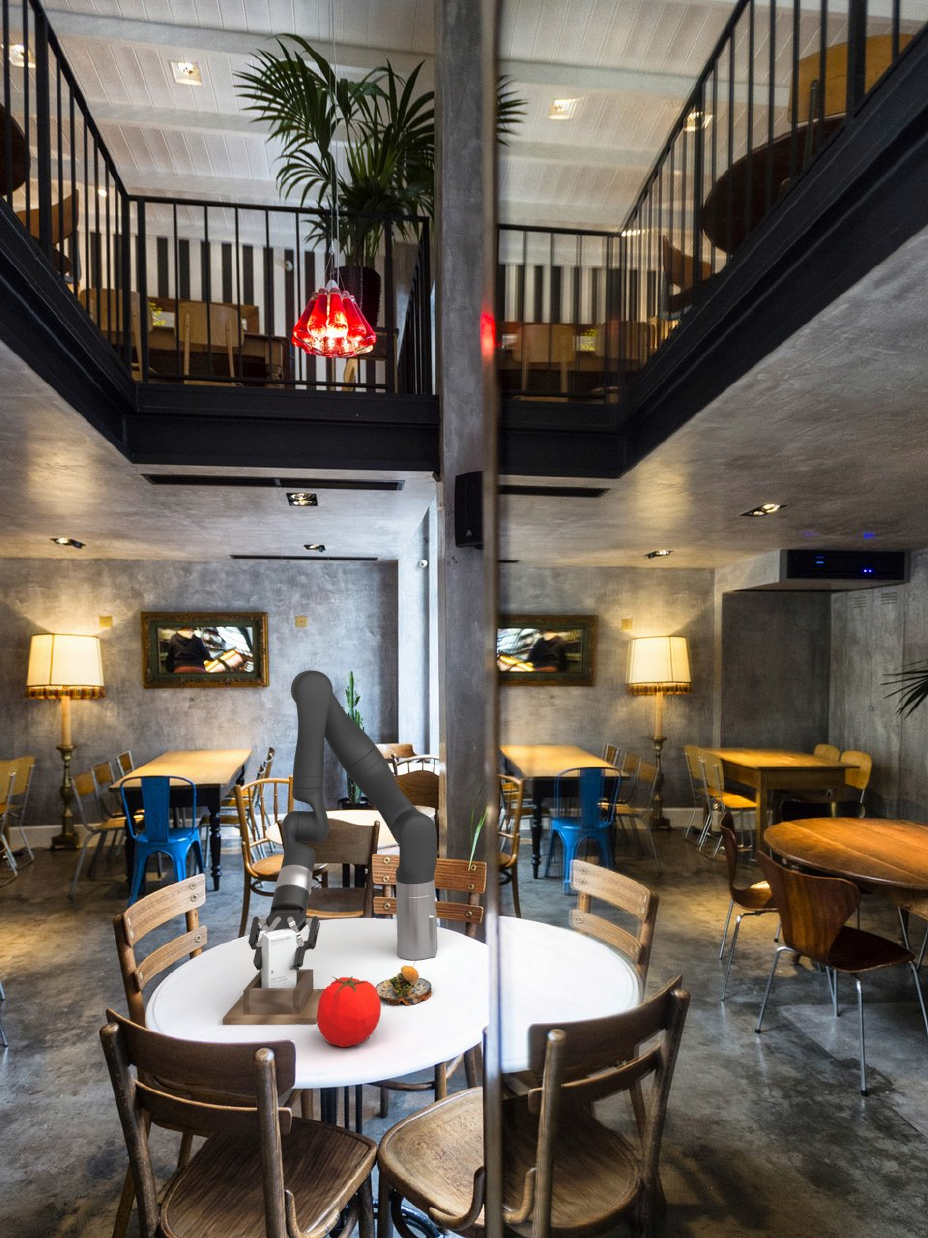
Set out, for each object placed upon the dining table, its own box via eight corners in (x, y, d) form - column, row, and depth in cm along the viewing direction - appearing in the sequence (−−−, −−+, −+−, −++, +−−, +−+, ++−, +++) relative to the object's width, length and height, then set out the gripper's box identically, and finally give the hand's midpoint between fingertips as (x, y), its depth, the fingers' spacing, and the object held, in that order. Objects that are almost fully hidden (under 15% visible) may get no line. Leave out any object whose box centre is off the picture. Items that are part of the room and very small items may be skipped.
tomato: (313, 1032, 145) (312, 971, 146) (374, 1023, 148) (373, 962, 149) (322, 1062, 134) (321, 994, 134) (387, 1050, 137) (386, 985, 138)
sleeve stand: (332, 994, 162) (331, 966, 163) (315, 1024, 148) (315, 993, 149) (246, 995, 163) (246, 967, 164) (222, 1024, 149) (222, 994, 150)
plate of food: (395, 981, 170) (395, 945, 170) (442, 990, 164) (441, 953, 165) (363, 1002, 159) (362, 964, 160) (412, 1012, 153) (411, 973, 154)
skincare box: (268, 1002, 153) (267, 939, 153) (260, 995, 156) (260, 933, 157) (298, 995, 156) (297, 932, 157) (290, 987, 160) (289, 927, 161)
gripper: (255, 883, 166) (236, 960, 153) (322, 882, 165) (309, 959, 152) (263, 901, 170) (246, 977, 158) (328, 901, 170) (316, 977, 157)
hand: (277, 968), depth 155 cm, fingers closed on skincare box, 7 cm apart
